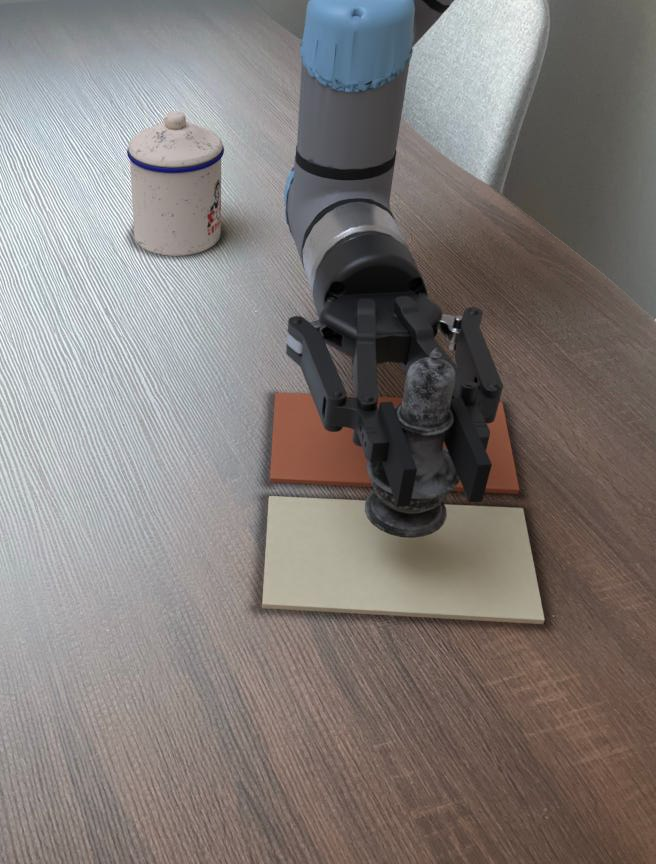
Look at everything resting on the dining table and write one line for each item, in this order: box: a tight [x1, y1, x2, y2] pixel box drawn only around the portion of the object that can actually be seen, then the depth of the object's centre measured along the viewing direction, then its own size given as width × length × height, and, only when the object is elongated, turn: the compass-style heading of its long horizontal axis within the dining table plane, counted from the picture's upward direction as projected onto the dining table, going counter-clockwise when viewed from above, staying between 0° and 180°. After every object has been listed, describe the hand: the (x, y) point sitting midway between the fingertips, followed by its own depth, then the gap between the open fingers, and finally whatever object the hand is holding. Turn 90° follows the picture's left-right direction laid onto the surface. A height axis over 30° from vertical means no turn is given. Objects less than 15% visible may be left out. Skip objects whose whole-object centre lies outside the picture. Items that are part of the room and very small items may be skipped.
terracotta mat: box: [269, 392, 520, 495], centre depth 79 cm, size 18×11×1 cm, turn 84°
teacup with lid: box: [126, 110, 225, 257], centre depth 99 cm, size 12×9×12 cm
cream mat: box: [261, 495, 546, 625], centre depth 70 cm, size 18×11×1 cm, turn 84°
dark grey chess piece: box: [365, 348, 460, 538], centre depth 62 cm, size 6×6×12 cm
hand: (443, 485), depth 58 cm, fingers closed on dark grey chess piece, 3 cm apart
